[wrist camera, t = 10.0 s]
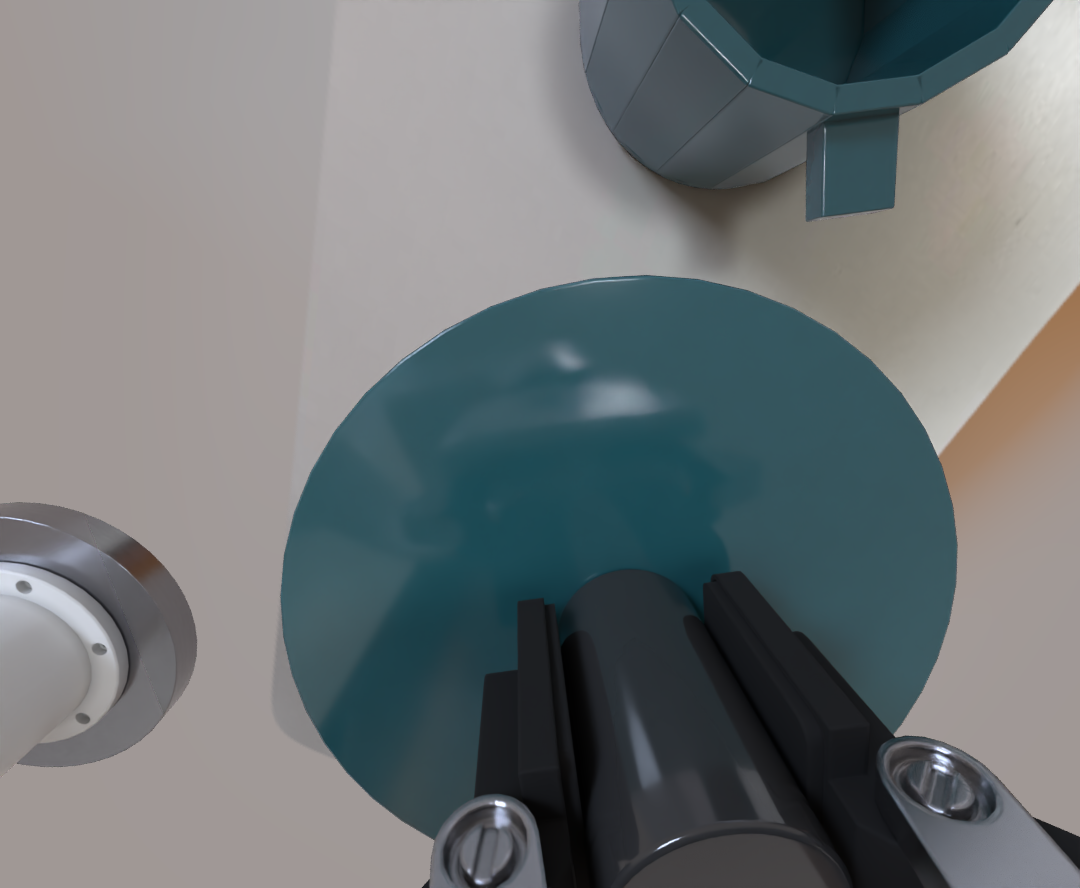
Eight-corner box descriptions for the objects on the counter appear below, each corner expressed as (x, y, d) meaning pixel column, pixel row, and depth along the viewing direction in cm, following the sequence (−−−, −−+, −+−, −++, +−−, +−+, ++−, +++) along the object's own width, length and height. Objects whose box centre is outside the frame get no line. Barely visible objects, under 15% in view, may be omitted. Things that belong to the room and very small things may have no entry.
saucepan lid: (375, 869, 14) (259, 1340, 8) (219, 328, 10) (-287, 369, 4) (900, 795, 14) (1214, 1196, 8) (946, 233, 10) (1654, 116, 4)
